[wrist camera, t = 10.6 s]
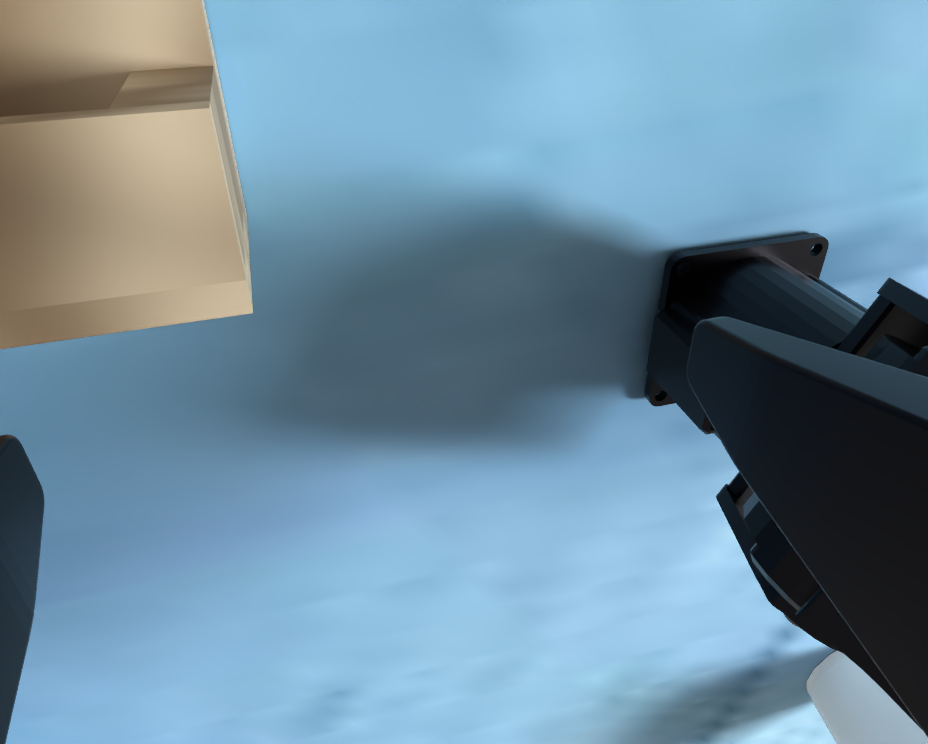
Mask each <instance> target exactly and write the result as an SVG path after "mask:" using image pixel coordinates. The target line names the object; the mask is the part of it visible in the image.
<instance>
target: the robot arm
mask: <svg viewBox="0 0 928 744" xmlns="http://www.w3.org/2000/svg"><path fill="white" fill-rule="evenodd" d="M828 244H829V243H828V240H827V239H826V238H824V237H823V236H821V235H819V234H817V233H809V234H802V235H795V236H788V237H781V238H774V239H767V240H760V241H753V242H746V243H739V244H732V245H725V246H718V247H711V248H704V249H697V250H690V251H683V252H678V253H675V254H673V255H672V256H671V257H670V258H669V259H668V260H667V262H666V265H665V269H664V275H663V281H662V288H661V294H660V300H659V306H658V312H657V314H656V316H655V319H654V325H653V331H652V338H651V344H650V351H649V357H648V363H647V371H648V375H647V382H646V388H645V397H646V398H647V400H648V401H649V402H650V403H651V404H652V405H653V406H663V405H668V404H673V403H676V404H677V405H678V406H679V407H680V408H681V409H682V410H683V411H684V412H685V413H686V415H687V416H688V417H689V418H690V419H691V420H692V421H693V422H694V423H695V425H696V426H697V427H698V428H699V429H700V430H701V431H702V432H704V433H705V434H711V433H714V434H715V435H716V436H717V437H718V438H719V439H720V440H721V442H722V444H723V445H724V447H725V449H726V451H727V453H728V454H729V456H730V458H731V459H732V461H733V463H734V464H735V466H736V467H737V469H738V470H739V473H738V474H737V475H736V476H735V478H734V479H733V480H732V481H731V483H730V484H729V485H728V484H726V485H725V486H724V487H723V488H722V489H721V491H720V492H719V493H718V495H717V496H716V498H717V500H718V502H719V504H720V507H721V509H722V511H723V513H724V515H725V517H726V519H727V521H728V523H729V525H730V527H731V529H732V531H733V533H734V535H735V537H736V539H737V541H738V543H739V545H740V547H741V549H742V551H743V553H744V555H745V557H746V559H747V561H748V563H749V565H750V567H751V569H752V571H753V573H754V575H755V577H756V579H757V580H758V582H759V584H760V586H761V588H762V590H763V592H764V594H765V596H766V597H767V599H768V601H769V602H770V603H771V604H772V605H773V606H774V607H776V608H777V609H778V610H780V611H781V612H783V613H784V615H785V617H786V618H787V619H788V620H789V621H790V622H791V623H792V624H794V625H795V626H797V627H800V628H801V629H803V630H804V631H805V632H807V633H808V634H809V635H811V636H812V637H813V638H815V639H816V640H818V641H820V642H822V643H823V644H825V645H827V646H828V647H830V648H832V649H835V650H837V651H839V652H841V653H843V654H844V655H846V656H847V657H848V658H849V659H850V660H852V661H853V662H854V663H855V664H856V665H857V666H859V667H860V668H861V669H862V670H863V671H864V672H865V673H866V674H867V675H868V676H869V677H870V678H871V679H872V680H874V681H875V682H876V683H877V684H878V685H879V686H880V687H881V688H882V689H883V690H884V691H885V692H886V693H887V694H888V695H889V696H890V697H891V699H892V700H893V701H894V702H895V703H896V704H897V705H898V706H899V707H900V708H901V709H902V710H903V711H904V712H905V713H906V714H907V715H908V716H909V717H910V718H911V719H912V720H913V721H914V722H915V723H916V724H917V725H918V726H919V727H920V728H921V729H922V730H923V732H924V733H925V734H926V736H927V737H928V298H926V297H924V296H922V295H921V294H919V293H917V292H915V291H913V290H911V289H909V288H908V287H906V286H904V285H902V284H900V283H898V282H896V281H895V280H893V279H891V278H888V279H887V281H886V282H885V283H884V285H883V286H882V287H881V288H880V290H879V291H878V292H877V293H878V294H879V296H878V297H877V299H876V300H875V301H874V302H873V304H872V305H871V306H870V307H869V309H866V308H864V307H863V306H861V305H860V304H858V303H856V302H855V301H853V300H852V299H850V298H848V297H847V296H845V295H844V294H842V293H841V292H839V291H837V290H836V289H834V288H833V287H831V286H829V285H828V284H826V283H825V282H823V281H821V280H820V279H819V276H820V273H821V270H822V266H823V263H824V260H825V256H826V253H827V250H828ZM814 245H815V246H814ZM813 246H814V248H813V249H812V247H813ZM811 249H812V250H811ZM683 263H684V265H683V267H682V268H681V269H680V270H679V271H677V269H678V267H679V266H680V265H681V264H683ZM660 391H661V392H660ZM658 392H660V393H659V394H658V395H656V394H657V393H658ZM43 514H44V494H43V490H42V486H41V484H40V482H39V480H38V478H37V475H36V473H35V471H34V469H33V467H32V465H31V463H30V461H29V459H28V457H27V455H26V453H25V450H24V448H23V446H22V444H21V443H20V441H19V440H18V439H17V438H16V437H14V436H12V435H1V436H0V744H5V743H6V738H7V734H8V730H9V725H10V721H11V716H12V712H13V708H14V703H15V699H16V694H17V690H18V685H19V681H20V677H21V672H22V668H23V663H24V659H25V655H26V650H27V646H28V641H29V637H30V632H31V627H32V622H33V617H34V609H35V601H36V591H37V580H38V569H39V558H40V547H41V536H42V525H43Z"/></svg>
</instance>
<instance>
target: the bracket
mask: <svg viewBox="0 0 928 744" xmlns="http://www.w3.org/2000/svg"><path fill="white" fill-rule="evenodd" d="M250 313H253V305H252V288H251V271H250V254H249V237H248V220H247V213H246V208H245V203H244V198H243V193H242V188H241V183H240V178H239V173H238V168H237V163H236V158H235V153H234V148H233V143H232V138H231V133H230V128H229V123H228V118H227V113H226V108H225V103H224V98H223V93H222V88H221V83H220V78H219V73H218V68H217V63H216V58H215V53H214V48H213V43H212V38H211V33H210V28H209V23H208V18H207V14H206V9H205V4H204V0H0V349H5V348H12V347H19V346H26V345H33V344H40V343H47V342H54V341H61V340H68V339H75V338H82V337H89V336H96V335H103V334H110V333H117V332H124V331H131V330H138V329H145V328H152V327H159V326H166V325H173V324H180V323H187V322H194V321H201V320H208V319H215V318H222V317H229V316H236V315H243V314H250Z"/></svg>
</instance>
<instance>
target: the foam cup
mask: <svg viewBox="0 0 928 744" xmlns="http://www.w3.org/2000/svg"><path fill="white" fill-rule="evenodd" d="M806 685H807V692H808V694H809V695H810V696H811V698H812V702H813V703H814V705H815V707H816V709H817V710H818V712H819V714H820V715H821V717H822V719H823V721H824V722H825V724H826V726H827V728H828V729H829V731H830V733H831V735H832V736H833V738H834V740H835V742H836V743H837V744H928V737H927V736H926V734H925V733H924V732H923V730H922V729H921V728H920V727H919V726H918V725H917V724H916V723H915V722H914V721H913V720H912V719H911V718H910V717H909V716H908V715H907V714H906V713H905V712H904V711H903V710H902V709H901V708H900V707H899V706H898V705H897V704H896V703H895V702H894V701H893V700H892V699H891V697H890V696H889V695H888V694H887V693H886V692H885V691H884V690H883V689H882V688H881V687H880V686H879V685H878V684H877V683H876V682H875V681H874V680H872V679H871V678H870V677H869V676H868V675H867V674H866V673H865V672H864V671H863V670H862V669H861V668H860V667H859V666H857V665H856V664H855V663H854V662H853V661H852V660H850V659H849V658H848V657H847V656H846V655H844V654H843V653H841V652H839V651H835V652H833V653H832V654H830V655H828V656H827V657H826V658H825V659H824V660H823V661H822V662H821V663H820V664H819V665H818V666H817V667H816V668H815V669H814V670H813V671H812V673H811V675H810V677H809V678H808V680H807V682H806Z"/></svg>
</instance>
